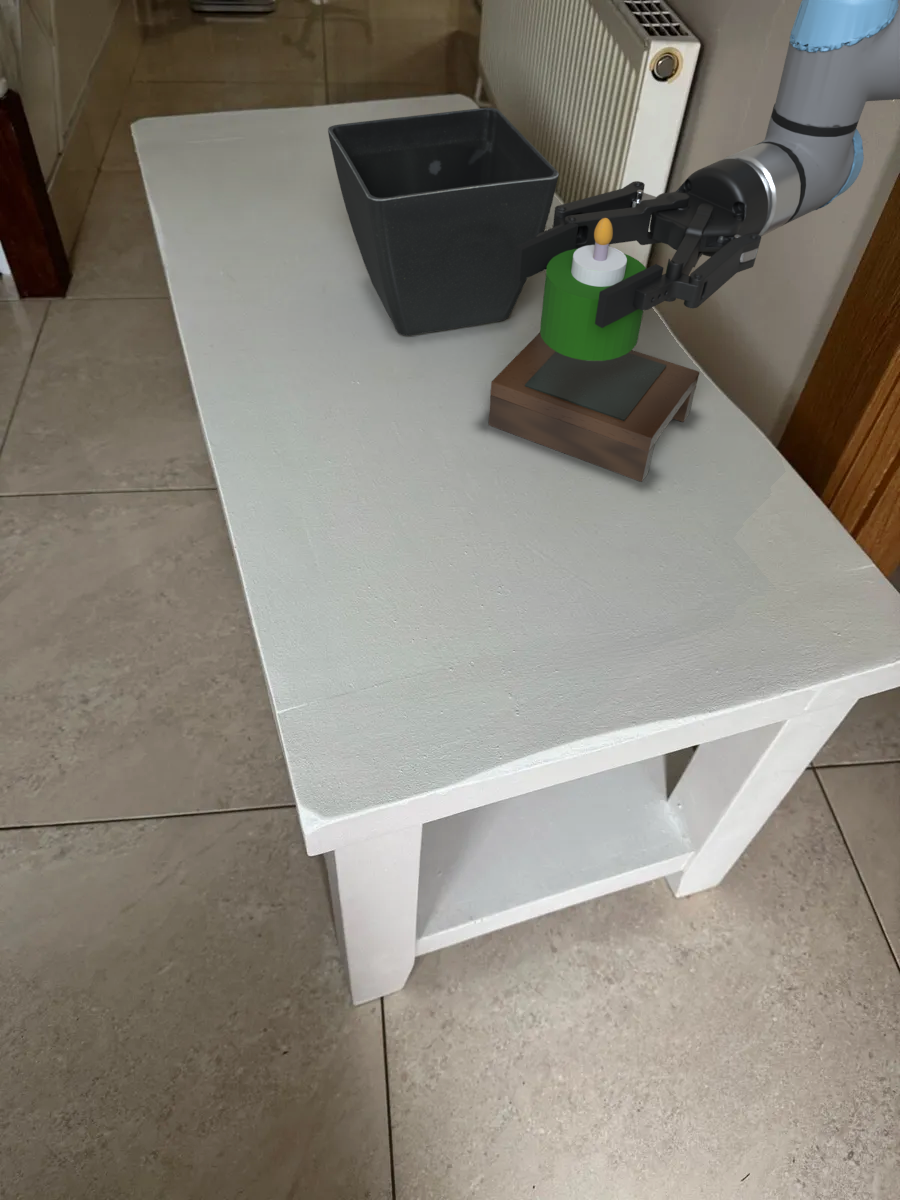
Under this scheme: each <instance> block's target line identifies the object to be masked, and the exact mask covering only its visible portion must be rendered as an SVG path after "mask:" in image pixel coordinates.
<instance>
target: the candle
mask: <svg viewBox="0 0 900 1200" xmlns="http://www.w3.org/2000/svg"><path fill="white" fill-rule="evenodd" d="M612 236H613V228H612V224H611V222H610V220H609V219H608V218H603V219H601V220H600V221H599V222H598V224H597V226H596V228H595V231H594V239H595V245H588V246H583V247H581V248H579V249H573V250H569V251H565V252H563V253H560V254H558V255H557V256H555V257H553V258H552V259H551V260H550V261H549V263H548V265H547V269H546V270H545V280H544V289H543V297H542V298H543V300H542V309H541V316H540V317H541V318H540V326H539V333H540V334H541V337H542V339H543V340H544V342H545V343H546V344H547V345H548V346H549V347H550V348H552V349H553V350H555V351H556V352H558V353H560V354H562V355H565V356H568V357H571V358H575V359H580V360H587V361H604V360H611V359H615V358H618V357H621V356H623V355H625V354H627V353H628V352H630V351H631V350H634V349H635V347H636V345H637V343H638V340H639V337H640V336H639V335H640V330H641V325H642V320H643V315H644V310H643V311H642V310H640V309H638V310H636V311H634V312H632V313H630V314H628V315H626V316H624V317H622V318H621V319H619V320H617V321H615V322H613V323H611V324H609V325H607V326H605V327H603V328H601V327H599V326H597V325H596V324H595V320H596V313H597V306H598V300H599V293H600V291H602V290H604V289H606V288H608V287H610V286H612V285H614V284H616V283H618V282H620V281H622V280H624V279H626V278H629V277H631V276H633V275H635V274H637V273H639V272H641V271H643V270H645V269H647V267H646V266H645V265H644V264H643V263H642V262H640V261H639V260H638V259H636V258H635V257H633V256H632V255H629V254H626V253H625V252H623V251H621V250H619V249H618V248H615V247H613V246H610V244H609V243H610V241H611V239H612Z"/></svg>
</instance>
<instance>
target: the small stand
mask: <svg viewBox="0 0 900 1200" xmlns="http://www.w3.org/2000/svg"><path fill="white" fill-rule="evenodd" d="M699 375H700V371H698V370H696V369H693V368H689V367H687V366H683V365H680V364H677V363H674V362H671V361H667V360H665V359H661V358H659V357H655V356H652V355H648V354H645V353H643V352H639V351H636V350H634V349H632V350H631V351H630V352H628V353H627V354H625V355H623V356H621V357H618V358H615V359H611V360H604V361H587V360H580V359H575V358H571V357H568V356H565V355H562V354H560V353H558V352H556V351H555V350H553V349H552V348H550V347H549V346H548V345H547V344H546V343H545V342H544V340H543V339H542V337H541V334H540V332H538V333H537V334H536V336H534V338H532V339H531V341H530V342H529V343H527V345H526V346H525V347H523V349H522V350H521V351H520V352H519V353H518V354H517V355H516V356H515V357H514V358H513V359H512V360H511V361H510V362H509V363H508V364H507V365H506V366H505V367H504V368H503V369H502V370H501V371H500V372H499V373H498V374H497V376H495V377H494V378H493V380H492V381H490V398H489V399H490V400H489V412H488V413H489V414H488V426H490V427H493V428H495V429H498V430H501V431H504V432H506V433H508V434H511V435H513V436H517V437H519V438H522V439H524V440H527V441H530V442H533V443H536V444H538V445H541V446H544V447H546V448H549V449H551V450H553V451H554V450H555V451H557V452H560V453H562V454H565V455H568V456H571V457H573V458H576V459H578V460H581V461H584V462H586V463H589V464H592V465H595V466H597V467H600V468H603V469H605V470H608V471H611V472H614V473H616V474H618V475H622V476H623V477H624V476H625V477H627V478H630V479H632V480H635V481H636V482H637V481H638V482H641V483H643V482H644V480H645V478H646V477H647V476H648V474H649V470H650V466H651V461H652V457H653V453H654V448H655V443H656V442H657V440H658V439H659V438H660V436H661V435H662V434H663V432H664V431H665V429H666V428H667V426H668V425H669V424H670V423H671V421H672V420H676V421H679V422H681V423H684V422H685V421H686V419H687V418H688V416H689V415H690V412H691V408H692V403H693V399H694V396H695V392H696V388H697V384H698V380H699Z"/></svg>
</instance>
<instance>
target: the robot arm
mask: <svg viewBox="0 0 900 1200" xmlns="http://www.w3.org/2000/svg"><path fill="white" fill-rule="evenodd" d="M784 59H785V60H784V64H783V68H782V72H781V76H780V81H779V86H778V90H777V95H776V99H775V103H774V104H773V107H772V112H771V114H770V117H769V120H768V125H767V129H766V132H765V137H764V139H763V140H762V141H761V142H758V143H757V144H754V145H752V146H749V147H746V148H744V149H742V150H740V151H737V152H734V153H732V154H730V155H728V156H726V157H724V158H723V159H721V160H718V161H716V162H713V163H711V164H708V165H707V166H704V167H702V168H699V169H697V170H695V171H694V172H693V173H691V174H689V176H688V177H687V178H686V179H685V180H684V182H683V183H682V184H681V185H680V186H679V187H678V188H677V190H675V191H671V192H663V193H660V194H658V195H657V196H655V195H652V194H649V193H646V192H645V185H646V184H645V183H644V182H643V181H639V180H635V181H632V182H630V183H629V184H627V185H625V186H623V187H622V188H619V189H616V190H612V191H608V192H604V193H600V194H596V195H592V196H589V197H586V198H582V199H578V200H574V201H571V202H567V203H563V204H559V205H556V206H555V207H554V214H553V222H552V223H553V224H552V227H550V228H547V229H545V230H544V232H541V233H539V234H538V235H537V236H536V238H533V239H531V240H529V241H526V242H524V243H522V244H519V245H517V246H515V256H514V270H513V278H514V279H516V280H517V281H522V280H524V279H526V278H527V279H528V278H530V277H532V276H534V275H537V274H539V273H541V272H543V271H546V269H547V265H548V263H549V261H550V260H551V259H552V258H553V257H555V256H557V255H558V254H560V253H563V252H565V251H569V250H573V249H579V248H581V247H583V246H588V245H595V239H594V231H595V228H596V226H597V224H598V222H599V221H600V220H601V219H603V218H608V219H609V220H610V222H611V224H612V228H613V236H612V239H611V241H610V243H609V245H615V244H622V243H629V242H637V243H638V244H639V245H640V246H647V245H654V244H665V245H667V246H669V247H670V248H672V249H673V250H675V253H674V254H673V256H672V258H668V260H667V265H666V269H665V273H664V267H663V266H661V265H659V264H657V263H655V264H653V265H651V266H649V267H646V269H645V270H643V271H641V272H639V273H637V274H635V275H633V276H631V277H629V278H626V279H624V280H622V281H620V282H618V283H616V284H614V285H612V286H610V287H608V288H606V289H604V290H602V291H600V293H599V300H598V306H597V313H596V320H595V324H596V325H597V326H599V327H601V328H603V327H605V326H607V325H609V324H611V323H613V322H615V321H617V320H619V319H621V318H622V317H624V316H626V315H628V314H630V313H632V312H634V311H636V310H638V309H640V310H642V311H643V312H644V311H649V310H650V309H652V308H654V307H656V306H658V305H660V304H662V303H664V302H668V303H671V302H675V301H676V300H682V301H683V305H684V306H685V307H686V308H688V309H698V308H699V307H700V306H702V304H703V303H704V302H705V301H707V300H708V299H709V298H710V297H712V295H714V294H715V293H716V291H719V289H720V288H722V287H723V286H724V285H725V284H726V283H727V282H728V281H729V280H731V279H732V278H733V277H734V276H735V275H737V273H740V272H743V271H745V270H748V269H752V268H754V266H755V262H756V259H757V255H758V251H759V248H760V244H761V241H762V237H763V236H765V235H767V234H769V233H771V232H773V231H775V230H777V229H779V228H781V227H783V226H784V225H786V224H789V223H791V222H793V221H795V220H797V219H799V218H801V217H803V216H805V215H807V214H809V213H811V212H814V211H818V210H820V209H822V208H825V207H826V206H827V205H829V204H830V203H832V202H833V201H834V200H835V199H836V198H838V197H839V196H841V195H842V194H844V193H845V192H846V191H848V190H849V189H850V188H851V187H852V186H853V184H855V182H856V180H857V178H858V177H859V175H860V173H861V171H862V168H863V165H864V159H865V157H864V156H865V155H864V146H863V138H862V136H861V134H860V132H859V130H858V129H857V127H858V124H859V121H860V119H861V116H862V113H863V111H864V109H865V105H866V103H867V102H878V101H892V100H895V101H896V100H900V0H801V2H800V4H799V6H798V10H797V13H796V16H795V19H794V22H793V25H792V28H791V31H790V35H789V43H788V47H787V52H786V55H785V58H784ZM702 256H705V257H709V258H707V259H706V260H705V261H704V262H703V263H702V264H701V265H699V266H698V267H697V268H696V266H697V264H698V262H699V260H700V258H701V257H702ZM693 268H696V269H695V270H693ZM692 270H693V271H692ZM527 279H526V280H527Z"/></svg>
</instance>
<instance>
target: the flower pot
mask: <svg viewBox="0 0 900 1200" xmlns="http://www.w3.org/2000/svg"><path fill="white" fill-rule="evenodd" d="M327 133H328V138H329V144H330V149H331V153H332V158H333V163H334V167H335V172H336V175H337V180H338V184H339V188H340V191H341V195H342V198H343V202H344V206H345V209H346V213H347V217H348V220H349V223H350V226H351V229H352V232H353V235H354V238H355V241H356V244H357V247H358V250H359V253H360V256H361V258H362V261H363V264H364V267H365V269H366V271H367V274H368V276H369V279H370V281H371V283H372V286H373V289H374V290H375V292H376V293H377V295H378V298H379V299H380V301H381V303H382V306H383V307H384V309H385V311H386V314H387V315H388V317H389V319H390V321H391V322H392V324H393V327H394V329H395V331H396V332H397V333H398V334H399V335H402V336H414V335H420V334H426V333H427V334H428V333H434V332H440V331H447V330H453V329H460V328H464V327H471V326H479V325H483V324H490V323H495V322H503V321H505V320H507V319H508V318H509V317H510V316H511V313H512V311H513V309H514V307H515V306H516V303H517V301H518V300H519V297H520V294H521V293H522V291H523V288H524V287H525V284H526V282H527V279H528V278H526V279H524V280H522V281H517V280H516V279H514V278H513V270H514V256H515V246H517V245H519V244H522V243H524V242H526V241H529V240H531V239H533V238H536V236H537V235H538V234H539V233H541V232H544V231H546V226H547V222H548V219H549V215H550V212H551V209H552V205H553V202H554V198H555V193H556V188H557V184H558V180H559V175H560V173H559V171H558V170H557V169H556V167H554V166H553V165H552V163H550V161H548V160H547V158H545V157H544V156H543V154H542V153H540V151H539V150H538V149H537V148H536V146H534V145H533V144H532V143H531V142H530V141H529V140H528V139H527V138H526V136H524V135H523V133H521V131H519V129H517V128H516V126H515V125H513V124H512V122H511V120H509V119H508V118H507V116H506V115H505V114H503V113H502V112H501V110H500V109H498V108H495V107H481V108H480V107H479V108H471V109H462V110H461V109H460V110H452V111H443V112H436V113H426V114H418V115H410V116H399V117H389V118H382V119H372V120H364V121H355V122H350V123H349V122H348V123H347V122H346V123H340V124H339V123H338V124H335V125H330V126H329V127H327Z"/></svg>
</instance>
